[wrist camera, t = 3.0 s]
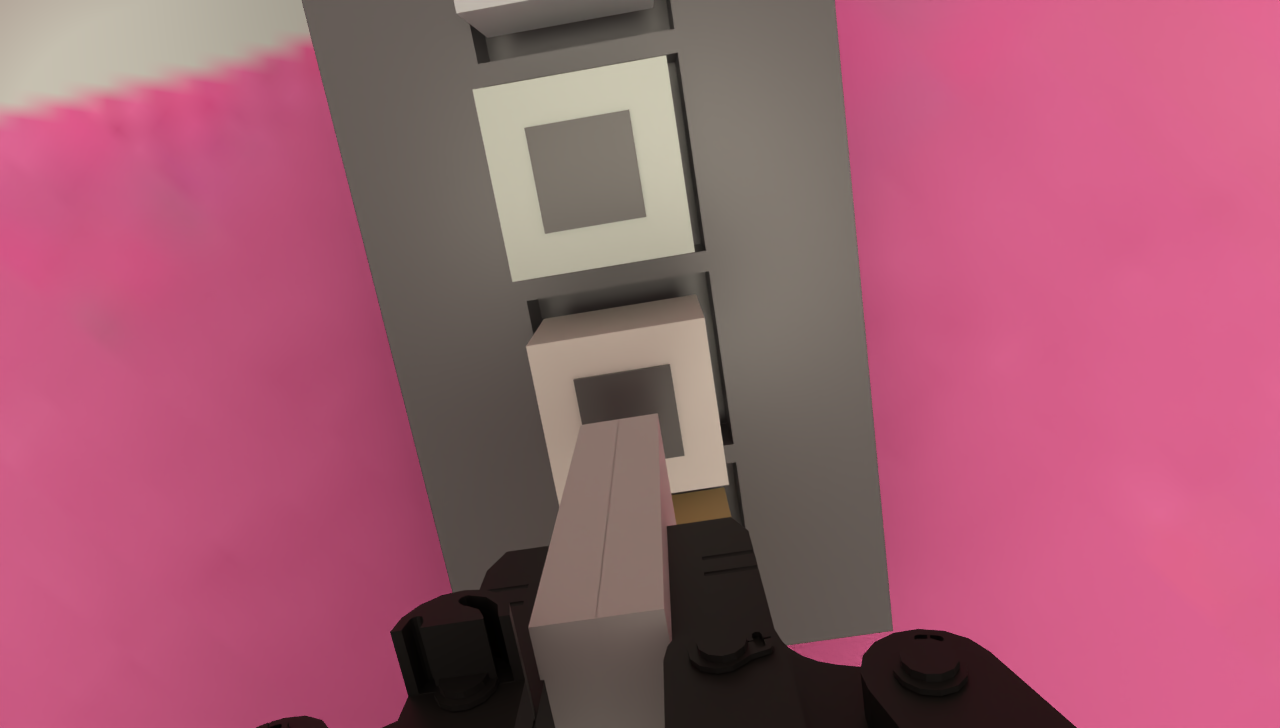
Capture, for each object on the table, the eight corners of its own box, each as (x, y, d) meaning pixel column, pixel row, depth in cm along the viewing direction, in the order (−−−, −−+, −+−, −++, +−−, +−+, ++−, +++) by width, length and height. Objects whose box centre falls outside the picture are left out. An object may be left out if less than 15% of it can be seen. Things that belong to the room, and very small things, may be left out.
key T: (572, 460, 23) (559, 511, 20) (543, 319, 22) (525, 347, 19) (717, 438, 23) (729, 486, 19) (695, 294, 22) (705, 318, 18)
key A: (532, 263, 22) (511, 282, 18) (500, 101, 20) (471, 89, 17) (687, 238, 21) (694, 252, 18) (662, 72, 20) (666, 54, 17)
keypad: (491, 643, 28) (476, 688, 26) (297, -147, 22) (254, -186, 19) (871, 589, 28) (892, 630, 25) (788, -243, 21) (807, -295, 19)
